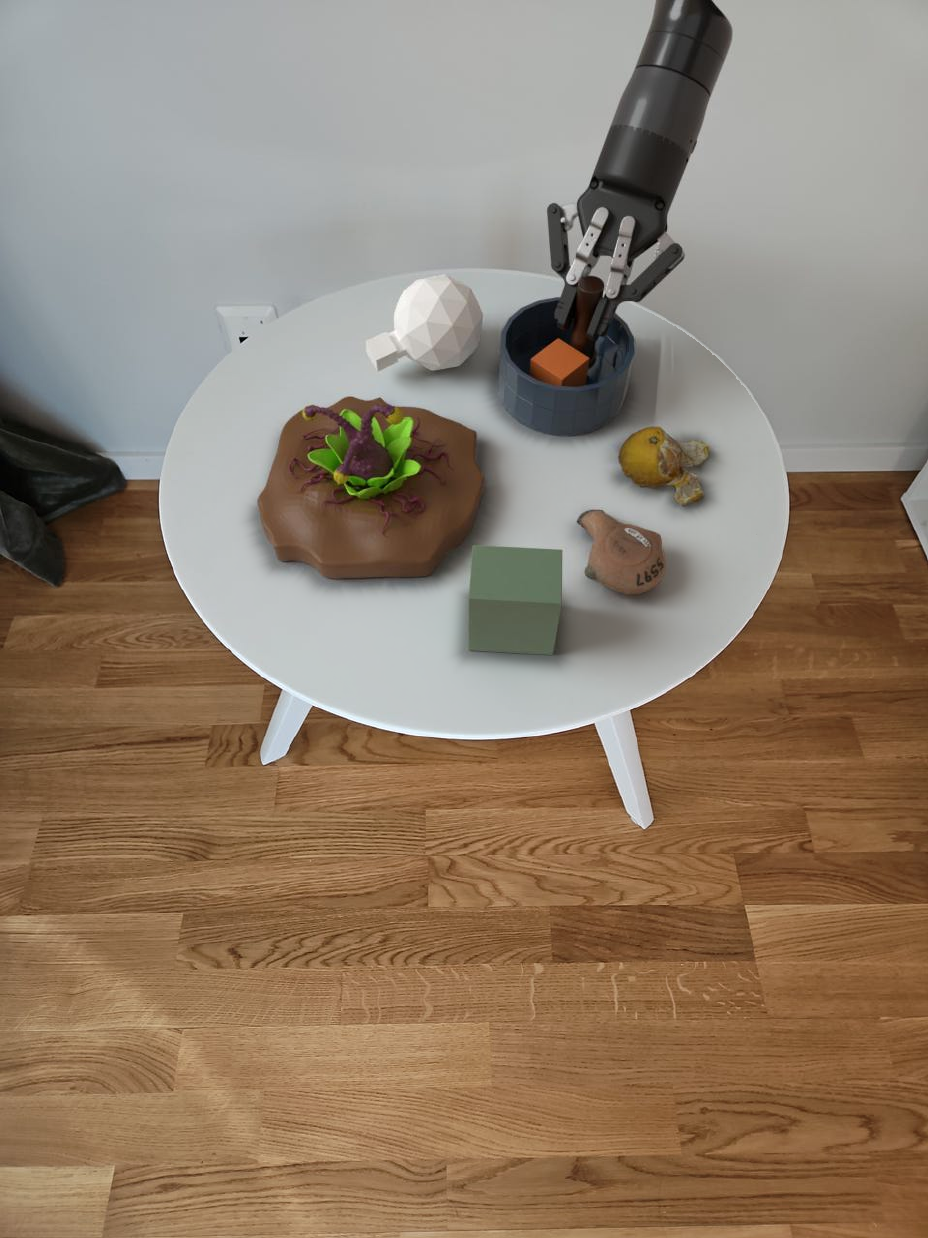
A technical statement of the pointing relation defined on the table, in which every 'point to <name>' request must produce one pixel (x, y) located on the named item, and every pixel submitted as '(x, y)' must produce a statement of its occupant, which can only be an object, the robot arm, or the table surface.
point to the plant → (371, 489)
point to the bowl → (562, 404)
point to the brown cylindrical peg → (586, 315)
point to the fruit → (663, 462)
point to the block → (560, 365)
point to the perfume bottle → (431, 326)
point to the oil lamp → (622, 554)
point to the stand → (514, 599)
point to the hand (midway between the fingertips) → (577, 333)
